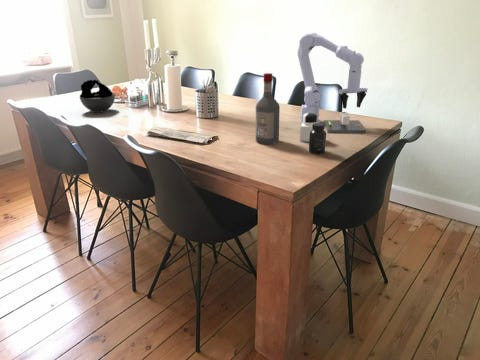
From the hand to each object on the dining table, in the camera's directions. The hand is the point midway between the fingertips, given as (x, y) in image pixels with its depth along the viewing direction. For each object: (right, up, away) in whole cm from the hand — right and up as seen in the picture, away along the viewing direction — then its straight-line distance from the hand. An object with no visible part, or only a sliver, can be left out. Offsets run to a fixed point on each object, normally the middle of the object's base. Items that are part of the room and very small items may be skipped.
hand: (351, 107), depth 195 cm
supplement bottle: (-23, -25, -31) cm, 46 cm away
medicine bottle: (-24, -18, -16) cm, 34 cm away
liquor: (-43, -19, -17) cm, 50 cm away
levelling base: (-4, -10, +1) cm, 11 cm away
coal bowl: (-141, +5, +42) cm, 147 cm away
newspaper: (-84, -16, -9) cm, 86 cm away
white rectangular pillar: (-4, -9, 0) cm, 9 cm away
